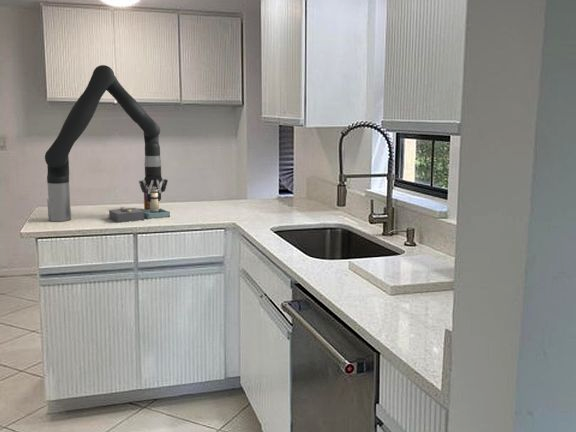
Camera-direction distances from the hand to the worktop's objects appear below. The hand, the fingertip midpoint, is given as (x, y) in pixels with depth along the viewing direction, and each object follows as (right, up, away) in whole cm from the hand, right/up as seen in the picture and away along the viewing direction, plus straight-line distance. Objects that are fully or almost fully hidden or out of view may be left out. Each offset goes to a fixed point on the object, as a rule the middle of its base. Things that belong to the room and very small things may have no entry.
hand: (153, 201), depth 281 cm
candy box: (-5, -4, +17) cm, 18 cm away
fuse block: (-11, -9, -7) cm, 16 cm away
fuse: (0, -5, +1) cm, 5 cm away
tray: (0, -7, +1) cm, 7 cm away
